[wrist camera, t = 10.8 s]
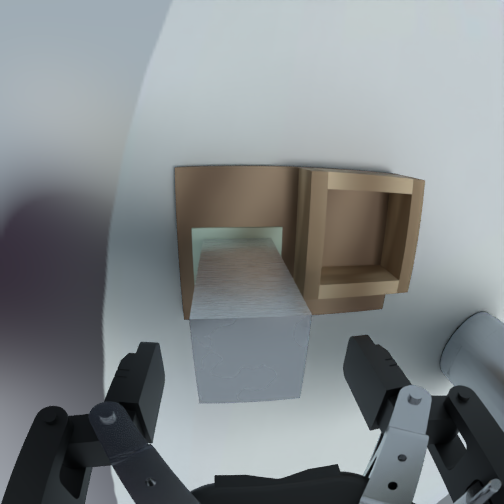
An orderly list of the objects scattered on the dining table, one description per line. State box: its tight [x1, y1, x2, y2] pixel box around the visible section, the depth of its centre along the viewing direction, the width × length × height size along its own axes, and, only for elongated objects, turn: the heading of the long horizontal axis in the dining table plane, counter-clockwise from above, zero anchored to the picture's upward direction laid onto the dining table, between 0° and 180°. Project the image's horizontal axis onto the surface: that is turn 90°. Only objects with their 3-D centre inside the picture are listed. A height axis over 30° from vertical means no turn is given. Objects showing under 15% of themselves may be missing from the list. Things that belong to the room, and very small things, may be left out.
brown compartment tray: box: [175, 166, 425, 320], centre depth 20 cm, size 16×11×4 cm
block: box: [189, 238, 312, 403], centre depth 16 cm, size 4×4×10 cm
